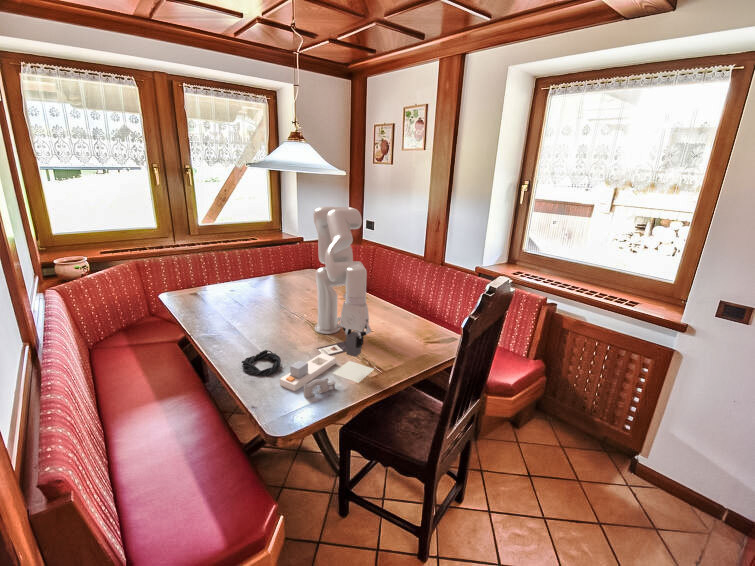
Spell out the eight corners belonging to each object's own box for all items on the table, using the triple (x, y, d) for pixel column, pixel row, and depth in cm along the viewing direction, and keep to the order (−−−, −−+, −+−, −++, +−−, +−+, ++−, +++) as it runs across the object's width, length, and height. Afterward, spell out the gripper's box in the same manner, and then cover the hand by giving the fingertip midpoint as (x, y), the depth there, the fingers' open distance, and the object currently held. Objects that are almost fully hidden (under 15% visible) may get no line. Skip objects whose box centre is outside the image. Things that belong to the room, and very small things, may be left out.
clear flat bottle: (333, 387, 135) (333, 373, 133) (336, 389, 134) (336, 375, 132) (302, 397, 128) (302, 382, 127) (304, 400, 127) (304, 384, 125)
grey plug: (300, 375, 141) (299, 360, 139) (308, 378, 139) (307, 363, 137) (290, 381, 137) (290, 365, 135) (299, 384, 135) (298, 369, 133)
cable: (285, 374, 142) (284, 364, 141) (247, 383, 136) (246, 372, 135) (274, 355, 157) (274, 345, 155) (239, 361, 150) (238, 351, 149)
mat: (349, 361, 154) (349, 360, 153) (374, 369, 148) (374, 369, 148) (332, 374, 143) (332, 373, 143) (358, 383, 138) (358, 382, 138)
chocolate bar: (362, 347, 165) (325, 356, 156) (362, 349, 166) (325, 358, 156) (352, 339, 172) (316, 348, 163) (352, 341, 173) (316, 350, 163)
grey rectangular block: (352, 349, 146) (353, 331, 144) (361, 352, 144) (362, 333, 142) (345, 354, 142) (346, 335, 139) (354, 357, 140) (355, 337, 138)
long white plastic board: (321, 360, 154) (321, 351, 153) (335, 365, 151) (335, 356, 150) (280, 387, 134) (279, 377, 133) (294, 393, 131) (294, 383, 130)
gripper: (331, 297, 138) (330, 343, 143) (369, 307, 130) (368, 354, 135) (342, 292, 144) (342, 336, 149) (380, 301, 136) (378, 346, 141)
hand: (354, 344), depth 142 cm, fingers closed on grey rectangular block, 4 cm apart
